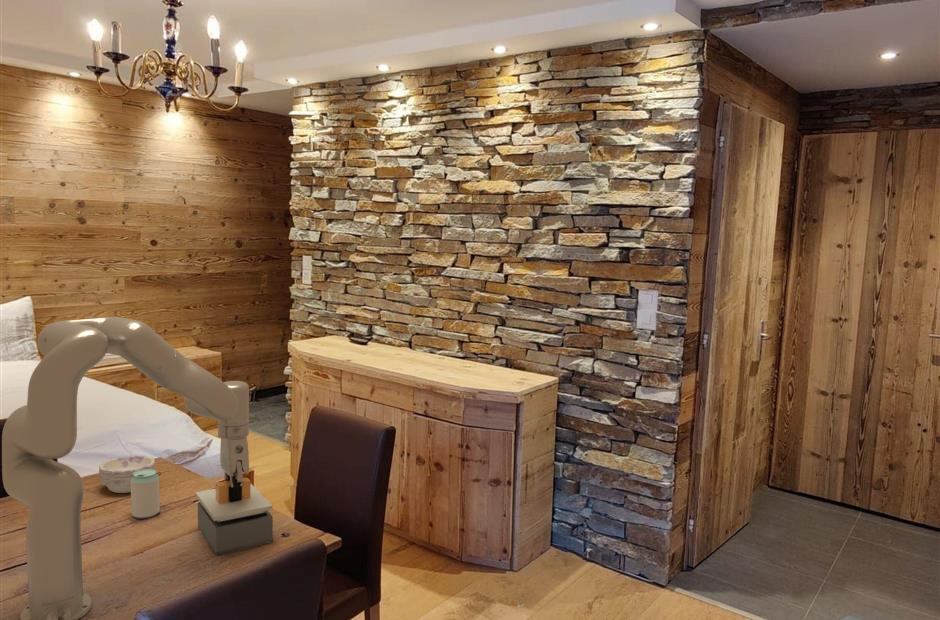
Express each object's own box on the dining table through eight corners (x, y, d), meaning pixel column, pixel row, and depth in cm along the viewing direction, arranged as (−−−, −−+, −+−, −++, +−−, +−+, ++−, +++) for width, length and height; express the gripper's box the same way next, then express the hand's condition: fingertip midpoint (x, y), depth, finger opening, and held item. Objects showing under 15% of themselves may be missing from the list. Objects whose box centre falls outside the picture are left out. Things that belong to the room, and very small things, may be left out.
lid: (272, 513, 172) (272, 488, 172) (214, 525, 164) (214, 499, 163) (249, 489, 187) (250, 466, 187) (195, 499, 179) (195, 475, 178)
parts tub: (272, 541, 174) (272, 515, 173) (216, 555, 166) (216, 528, 165) (250, 516, 188) (250, 492, 188) (198, 527, 180) (197, 502, 179)
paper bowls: (148, 475, 216) (147, 451, 215) (161, 490, 205) (161, 465, 204) (94, 485, 206) (93, 460, 206) (105, 501, 195) (104, 475, 194)
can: (159, 517, 186) (158, 475, 184) (130, 521, 183) (129, 478, 182) (160, 507, 192) (159, 467, 191) (132, 510, 189) (131, 469, 188)
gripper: (258, 435, 169) (257, 506, 171) (238, 420, 182) (238, 485, 184) (227, 440, 165) (227, 512, 167) (209, 423, 178) (209, 490, 180)
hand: (233, 497), depth 176 cm, fingers closed on lid, 3 cm apart
